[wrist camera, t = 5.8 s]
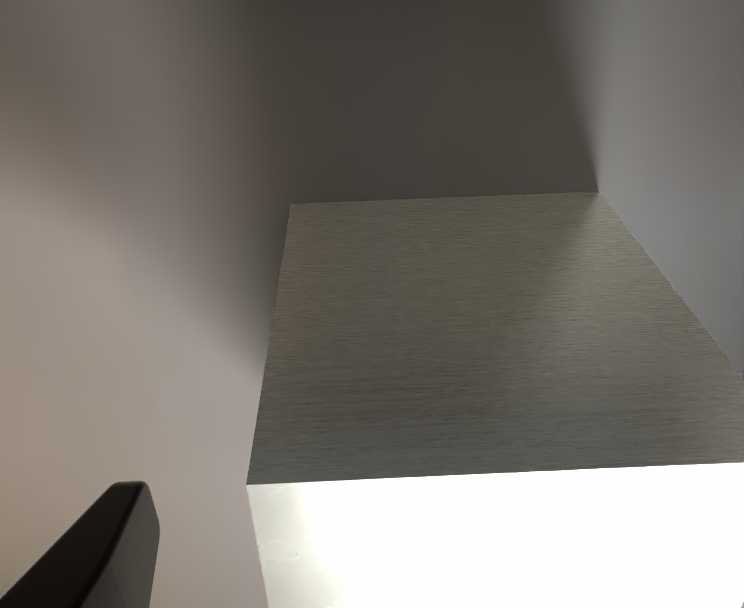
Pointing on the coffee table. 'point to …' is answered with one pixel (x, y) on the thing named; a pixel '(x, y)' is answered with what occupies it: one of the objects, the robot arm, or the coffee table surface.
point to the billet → (491, 415)
